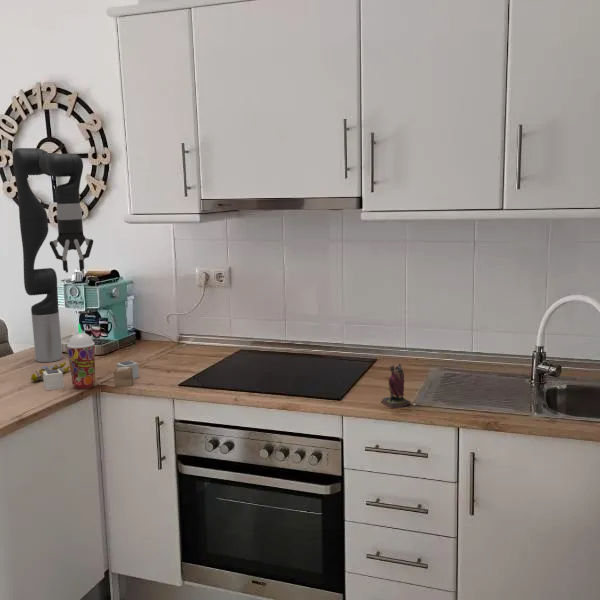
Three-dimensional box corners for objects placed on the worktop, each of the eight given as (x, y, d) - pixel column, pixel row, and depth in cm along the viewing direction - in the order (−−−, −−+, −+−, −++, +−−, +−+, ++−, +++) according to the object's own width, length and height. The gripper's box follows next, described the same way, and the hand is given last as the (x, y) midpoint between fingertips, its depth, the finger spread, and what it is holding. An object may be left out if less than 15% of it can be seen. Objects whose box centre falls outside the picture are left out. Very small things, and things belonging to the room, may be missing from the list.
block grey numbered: (117, 378, 229) (116, 362, 228) (130, 375, 232) (129, 359, 231) (125, 381, 225) (124, 365, 224) (138, 377, 229) (137, 362, 228)
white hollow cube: (44, 386, 221) (42, 370, 220) (60, 384, 223) (59, 368, 223) (47, 390, 217) (45, 374, 216) (63, 388, 219) (62, 371, 218)
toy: (74, 367, 237) (42, 376, 223) (67, 378, 238) (35, 387, 225) (64, 356, 238) (32, 365, 224) (57, 367, 240) (25, 376, 226)
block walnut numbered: (117, 382, 224) (116, 366, 223) (133, 381, 224) (132, 365, 223) (114, 387, 219) (113, 370, 218) (130, 386, 219) (129, 370, 218)
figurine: (411, 406, 195) (412, 364, 192) (390, 409, 192) (390, 367, 190) (400, 399, 201) (400, 359, 198) (380, 402, 198) (380, 361, 196)
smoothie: (79, 391, 214) (74, 328, 211) (65, 386, 220) (60, 324, 217) (103, 385, 221) (98, 323, 217) (88, 380, 226) (84, 320, 223)
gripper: (92, 216, 227) (95, 269, 230) (45, 218, 223) (50, 271, 225) (93, 217, 220) (97, 271, 223) (45, 219, 216) (50, 274, 219)
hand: (73, 271), depth 224 cm, fingers open, 3 cm apart
